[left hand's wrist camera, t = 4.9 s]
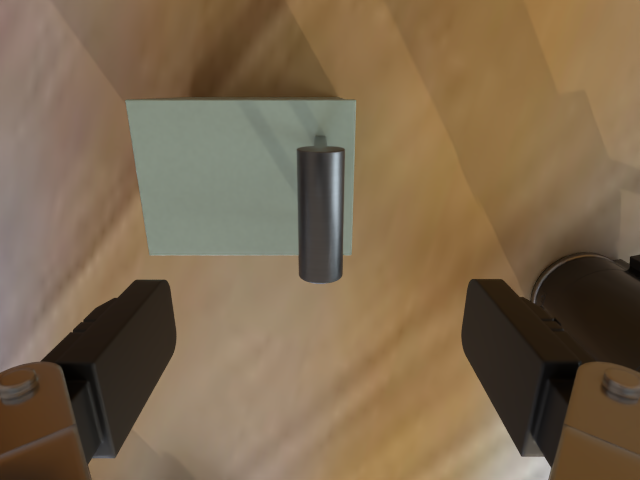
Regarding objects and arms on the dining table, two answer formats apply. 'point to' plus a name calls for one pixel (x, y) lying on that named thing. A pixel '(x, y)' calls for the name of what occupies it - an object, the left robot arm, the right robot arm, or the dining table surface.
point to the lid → (248, 178)
